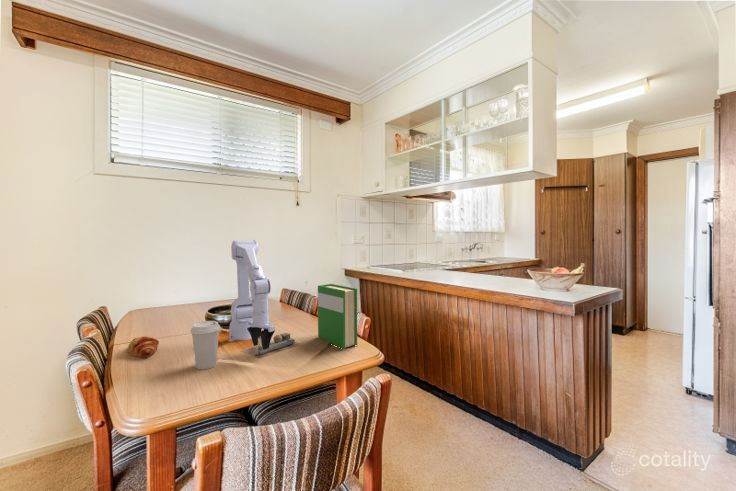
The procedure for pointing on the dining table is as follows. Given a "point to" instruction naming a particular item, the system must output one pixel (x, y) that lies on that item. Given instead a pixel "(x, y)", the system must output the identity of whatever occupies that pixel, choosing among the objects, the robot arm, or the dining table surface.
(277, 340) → the tan wooden ball
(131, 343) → the croissant
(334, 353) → the dining table surface
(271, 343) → the base
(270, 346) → the lever
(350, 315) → the hardback book
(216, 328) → the coffee cup
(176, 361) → the dining table surface
